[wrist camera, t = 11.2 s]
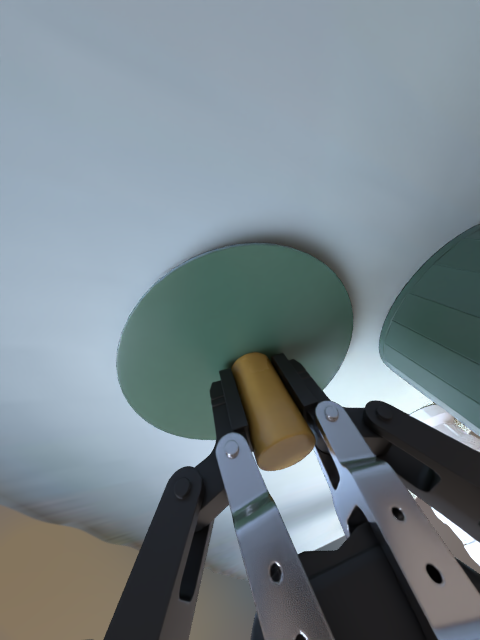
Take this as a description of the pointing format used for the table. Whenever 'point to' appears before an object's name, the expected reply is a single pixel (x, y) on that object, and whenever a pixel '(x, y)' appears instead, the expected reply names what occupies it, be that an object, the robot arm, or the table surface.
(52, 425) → the table surface
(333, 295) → the tin lid
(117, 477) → the table surface
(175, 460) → the table surface
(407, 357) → the tin
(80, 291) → the table surface
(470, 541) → the decorative container
